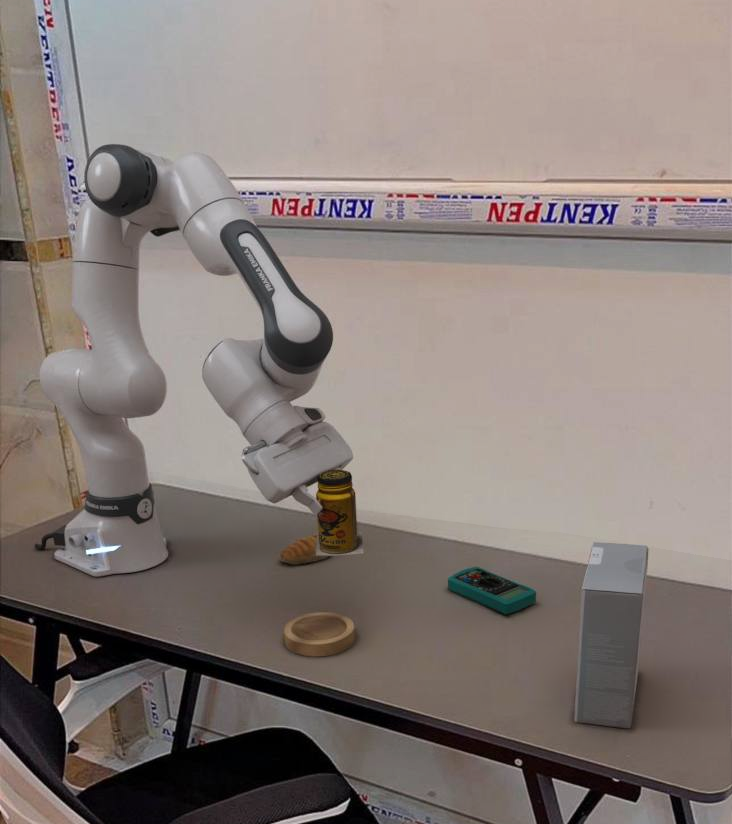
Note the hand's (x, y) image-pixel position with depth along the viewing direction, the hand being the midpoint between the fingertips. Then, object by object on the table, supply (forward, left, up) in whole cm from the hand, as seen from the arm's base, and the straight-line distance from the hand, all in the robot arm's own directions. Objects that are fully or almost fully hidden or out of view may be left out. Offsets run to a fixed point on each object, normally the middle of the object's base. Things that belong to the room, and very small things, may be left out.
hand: (334, 503), depth 149 cm
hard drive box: (+46, -2, -20) cm, 50 cm away
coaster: (0, -7, -20) cm, 21 cm away
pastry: (-20, +20, -20) cm, 35 cm away
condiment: (0, +1, -7) cm, 7 cm away
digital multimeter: (+17, +20, -20) cm, 33 cm away
